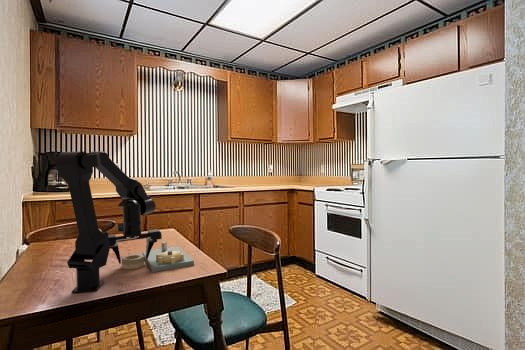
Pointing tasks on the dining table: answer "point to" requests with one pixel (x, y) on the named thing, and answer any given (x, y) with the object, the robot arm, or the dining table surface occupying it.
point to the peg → (163, 247)
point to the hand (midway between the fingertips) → (133, 261)
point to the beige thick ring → (132, 261)
